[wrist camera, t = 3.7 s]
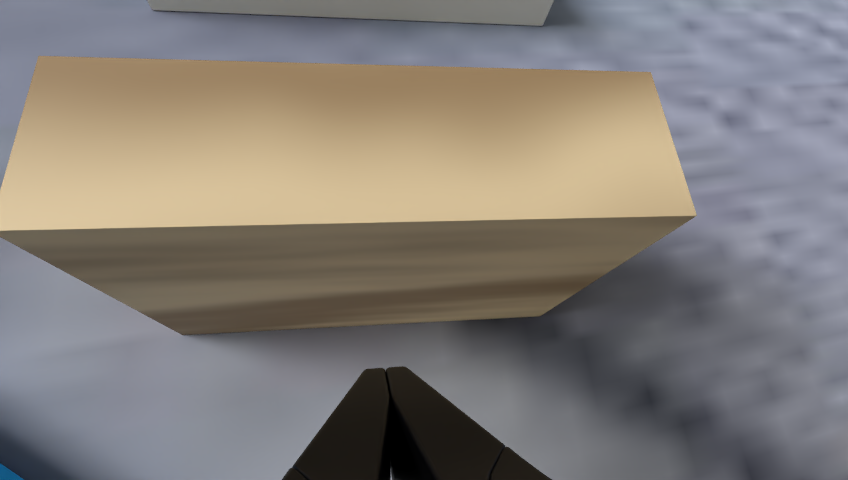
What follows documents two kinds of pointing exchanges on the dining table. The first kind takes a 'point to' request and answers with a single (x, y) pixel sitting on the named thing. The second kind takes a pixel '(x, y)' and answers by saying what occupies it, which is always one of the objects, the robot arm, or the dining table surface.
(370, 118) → the oak plank
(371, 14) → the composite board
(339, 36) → the dining table surface
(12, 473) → the book
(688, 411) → the dining table surface
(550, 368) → the dining table surface
